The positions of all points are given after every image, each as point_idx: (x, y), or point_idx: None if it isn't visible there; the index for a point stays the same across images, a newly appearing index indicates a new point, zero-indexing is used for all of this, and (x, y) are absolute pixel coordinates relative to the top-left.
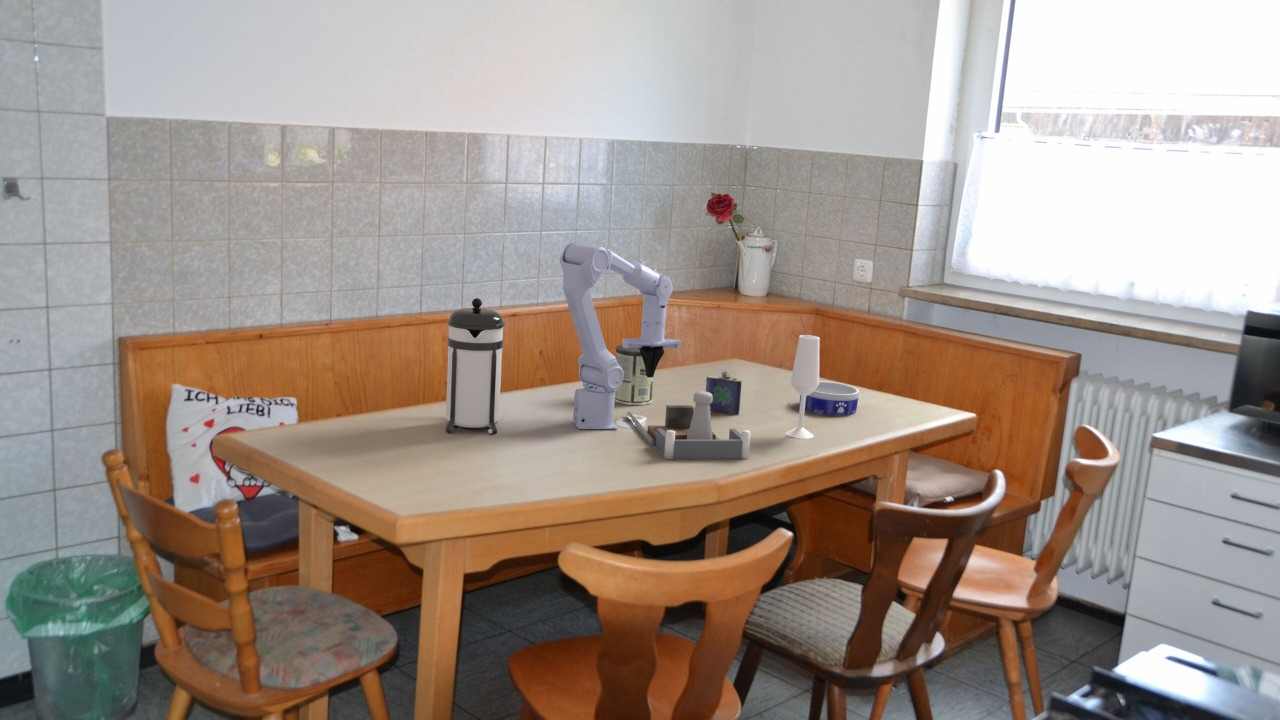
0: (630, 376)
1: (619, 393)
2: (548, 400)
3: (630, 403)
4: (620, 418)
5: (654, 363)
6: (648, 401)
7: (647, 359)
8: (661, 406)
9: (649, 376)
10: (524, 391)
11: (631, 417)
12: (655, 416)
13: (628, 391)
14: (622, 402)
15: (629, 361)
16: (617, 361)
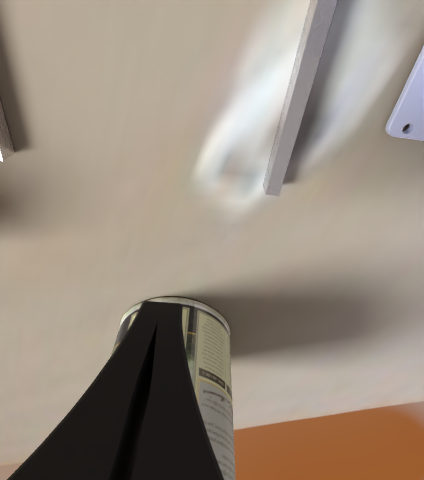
0: (198, 394)
1: (225, 345)
2: (404, 353)
3: (198, 305)
4: (313, 166)
5: (118, 402)
6: (137, 310)
7: (200, 455)
8: (100, 282)
9: (173, 306)
10: (403, 401)
11: (305, 104)
12: (153, 176)
13: (204, 341)
14: (218, 316)
15: None
16: (234, 473)
